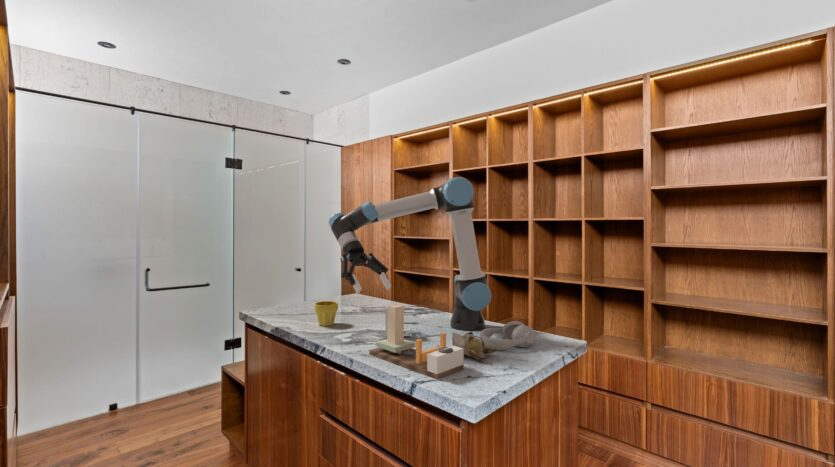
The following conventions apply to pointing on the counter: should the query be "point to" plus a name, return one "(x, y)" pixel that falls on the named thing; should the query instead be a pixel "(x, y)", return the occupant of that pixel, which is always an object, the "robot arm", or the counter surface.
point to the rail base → (410, 361)
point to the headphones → (509, 336)
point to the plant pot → (326, 312)
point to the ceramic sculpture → (472, 345)
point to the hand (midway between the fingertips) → (374, 289)
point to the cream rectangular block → (444, 359)
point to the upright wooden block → (395, 331)
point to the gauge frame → (423, 355)
